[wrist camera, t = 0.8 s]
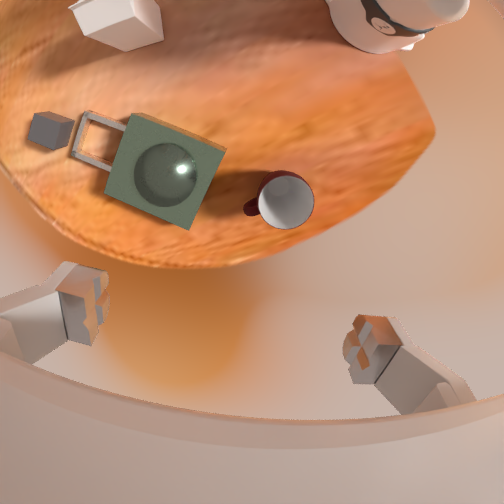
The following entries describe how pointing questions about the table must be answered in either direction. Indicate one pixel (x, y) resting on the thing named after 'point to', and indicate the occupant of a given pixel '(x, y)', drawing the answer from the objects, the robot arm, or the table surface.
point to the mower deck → (155, 166)
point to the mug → (282, 200)
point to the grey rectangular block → (50, 130)
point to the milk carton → (120, 22)
